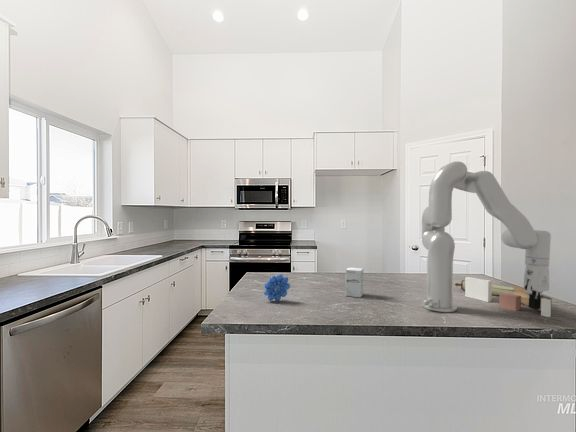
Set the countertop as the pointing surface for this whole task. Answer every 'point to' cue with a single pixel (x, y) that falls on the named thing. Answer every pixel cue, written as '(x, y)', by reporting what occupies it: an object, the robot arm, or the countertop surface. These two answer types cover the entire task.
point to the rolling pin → (495, 288)
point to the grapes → (276, 287)
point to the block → (510, 301)
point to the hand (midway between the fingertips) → (534, 308)
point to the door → (526, 296)
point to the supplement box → (354, 282)
